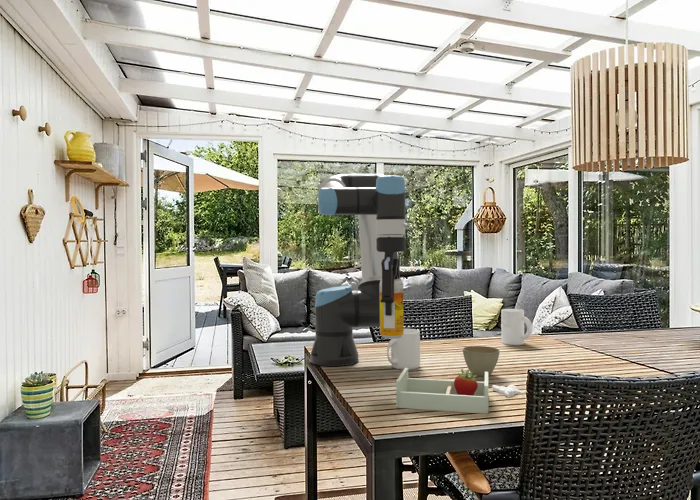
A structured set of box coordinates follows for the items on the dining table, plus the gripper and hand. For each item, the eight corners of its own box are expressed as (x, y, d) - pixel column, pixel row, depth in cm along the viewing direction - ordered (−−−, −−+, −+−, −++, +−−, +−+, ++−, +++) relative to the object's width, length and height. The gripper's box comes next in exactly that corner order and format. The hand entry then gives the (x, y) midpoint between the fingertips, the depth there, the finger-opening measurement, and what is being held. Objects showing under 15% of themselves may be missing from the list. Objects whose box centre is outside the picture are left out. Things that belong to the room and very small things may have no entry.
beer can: (402, 339, 134) (401, 280, 134) (378, 338, 136) (377, 280, 135) (404, 334, 140) (404, 278, 140) (381, 334, 142) (381, 278, 141)
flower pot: (474, 380, 142) (474, 353, 142) (456, 372, 152) (456, 347, 152) (507, 377, 145) (506, 351, 145) (487, 369, 155) (487, 344, 155)
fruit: (476, 407, 119) (476, 372, 119) (452, 405, 121) (452, 370, 121) (478, 401, 124) (478, 367, 124) (455, 399, 126) (455, 365, 125)
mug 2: (525, 347, 186) (525, 313, 186) (496, 342, 195) (496, 310, 195) (538, 344, 191) (538, 311, 191) (509, 340, 200) (509, 308, 200)
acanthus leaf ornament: (508, 400, 127) (508, 392, 127) (488, 393, 133) (488, 385, 133) (531, 395, 130) (531, 387, 130) (511, 388, 136) (510, 381, 136)
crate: (396, 407, 120) (396, 381, 120) (405, 391, 132) (405, 367, 132) (488, 413, 115) (488, 386, 115) (488, 396, 127) (488, 371, 127)
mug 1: (377, 368, 158) (376, 332, 158) (405, 362, 165) (404, 327, 165) (397, 373, 151) (397, 335, 151) (426, 366, 159) (425, 330, 159)
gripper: (399, 236, 127) (400, 333, 128) (410, 235, 145) (411, 320, 146) (368, 236, 129) (369, 331, 130) (383, 236, 147) (384, 319, 148)
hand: (391, 325), depth 138 cm, fingers closed on beer can, 6 cm apart
